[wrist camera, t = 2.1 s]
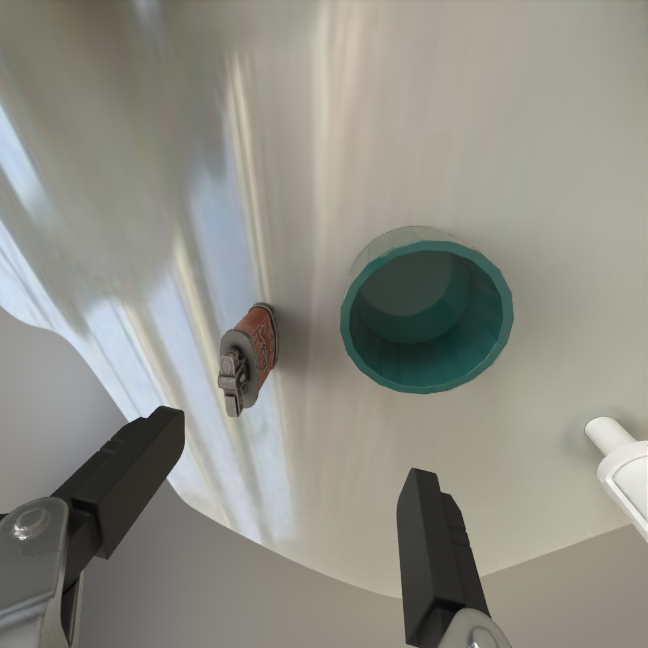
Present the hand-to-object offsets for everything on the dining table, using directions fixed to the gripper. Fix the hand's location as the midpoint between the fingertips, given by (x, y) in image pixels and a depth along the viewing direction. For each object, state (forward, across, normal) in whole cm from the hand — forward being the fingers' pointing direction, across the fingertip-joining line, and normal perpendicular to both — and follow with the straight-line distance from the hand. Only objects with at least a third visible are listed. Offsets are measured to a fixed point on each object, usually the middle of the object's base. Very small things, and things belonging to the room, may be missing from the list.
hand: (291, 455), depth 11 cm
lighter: (+23, +8, +8) cm, 25 cm away
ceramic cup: (+23, -6, 0) cm, 24 cm away
